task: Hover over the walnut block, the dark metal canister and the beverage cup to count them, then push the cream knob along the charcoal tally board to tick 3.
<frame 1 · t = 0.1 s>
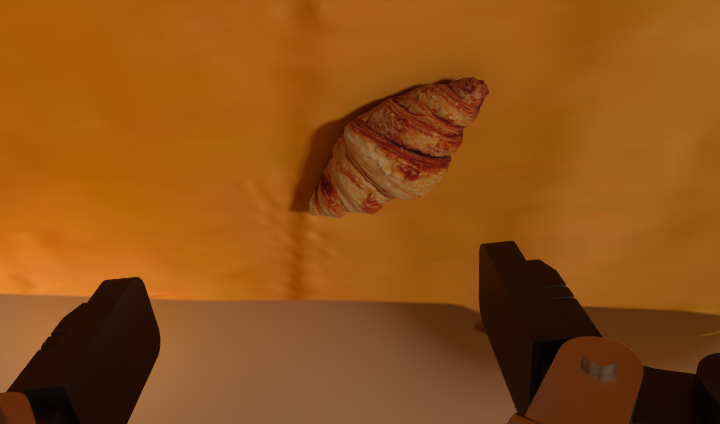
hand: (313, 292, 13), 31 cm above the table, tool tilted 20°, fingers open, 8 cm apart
croissant: (384, 137, 50), on the table
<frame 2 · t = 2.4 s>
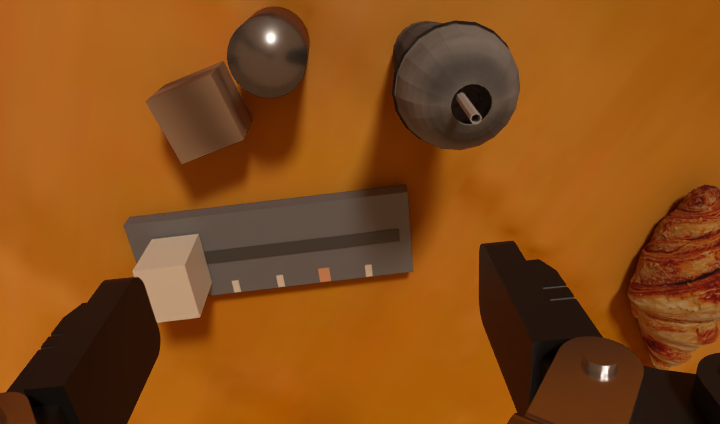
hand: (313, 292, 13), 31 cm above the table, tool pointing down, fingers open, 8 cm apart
beverage cup: (421, 51, 41), on the table
tally board: (275, 240, 47), on the table
metal canister: (276, 41, 40), on the table
walnut block: (209, 102, 42), on the table
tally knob: (175, 277, 44), point 4 cm above the table, slide at 0.0 cm
croissant: (665, 273, 52), on the table
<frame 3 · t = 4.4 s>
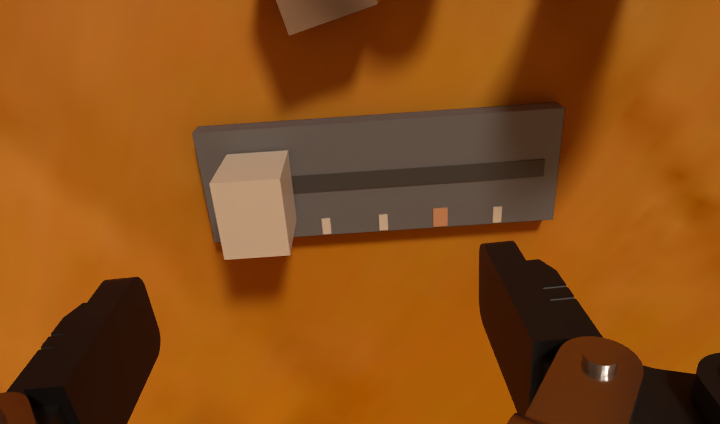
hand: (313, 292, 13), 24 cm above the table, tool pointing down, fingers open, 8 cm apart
tally board: (379, 170, 37), on the table
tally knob: (257, 203, 33), point 4 cm above the table, slide at 0.0 cm
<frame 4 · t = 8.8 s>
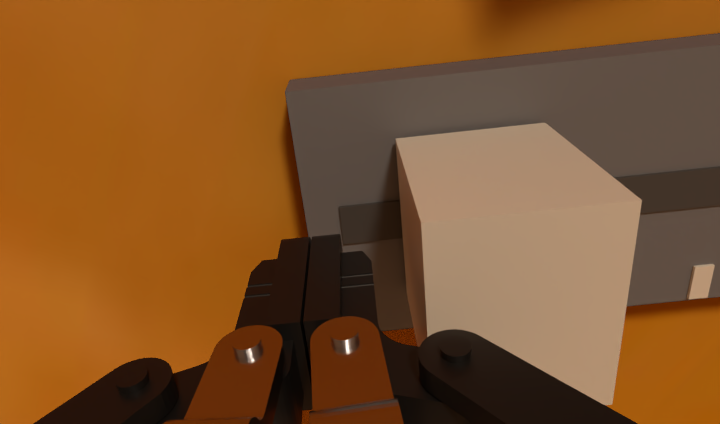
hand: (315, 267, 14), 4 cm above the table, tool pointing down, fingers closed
tally board: (689, 166, 17), on the table
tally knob: (493, 259, 13), point 4 cm above the table, slide at 0.8 cm, touching gripper
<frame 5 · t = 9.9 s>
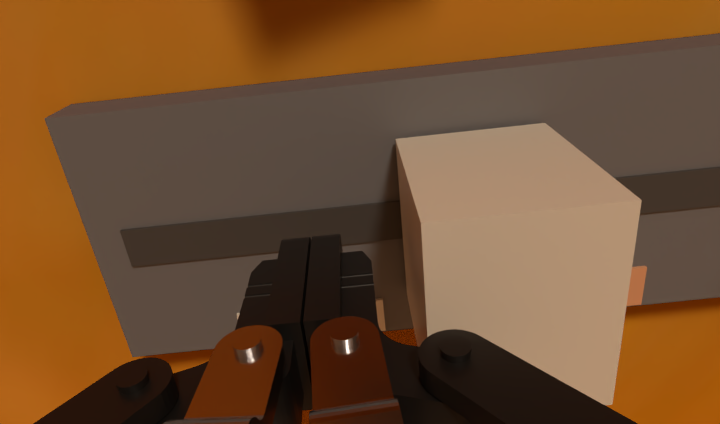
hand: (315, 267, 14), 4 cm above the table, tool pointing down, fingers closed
tally board: (488, 188, 17), on the table
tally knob: (493, 259, 13), point 4 cm above the table, slide at 7.1 cm, touching gripper
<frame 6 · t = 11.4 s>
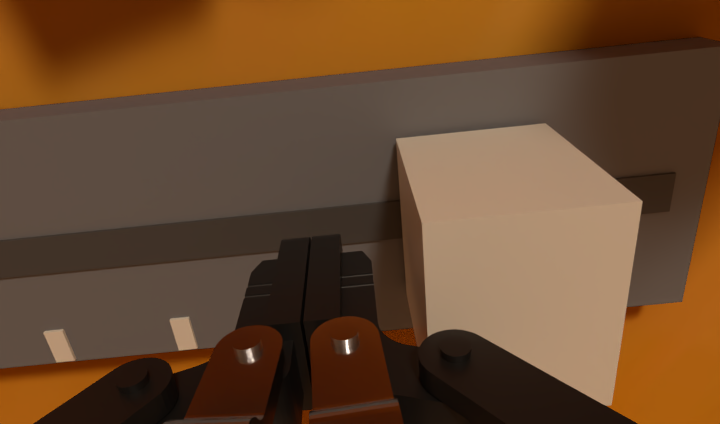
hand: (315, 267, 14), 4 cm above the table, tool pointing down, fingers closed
tally board: (297, 207, 17), on the table
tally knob: (493, 259, 13), point 4 cm above the table, slide at 13.2 cm, touching gripper
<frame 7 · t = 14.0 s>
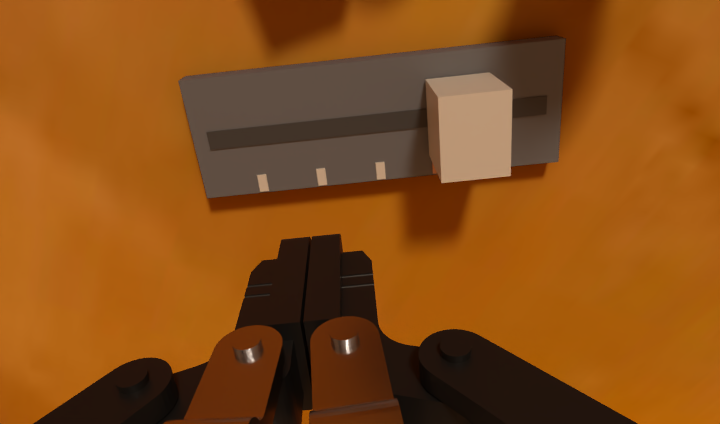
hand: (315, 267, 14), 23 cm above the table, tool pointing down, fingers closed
tally board: (375, 116, 36), on the table
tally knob: (466, 125, 32), point 4 cm above the table, slide at 13.3 cm
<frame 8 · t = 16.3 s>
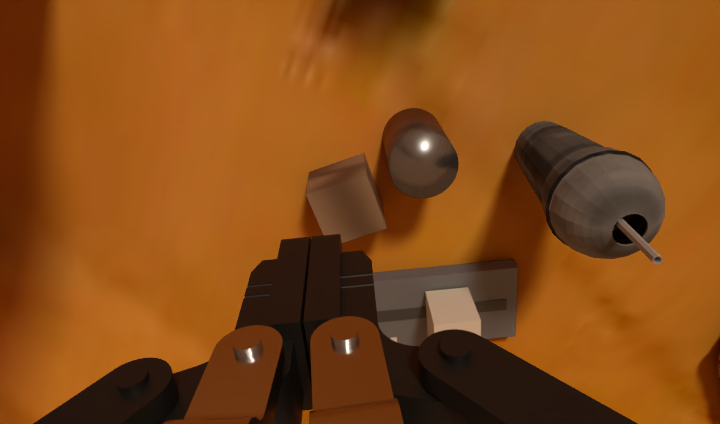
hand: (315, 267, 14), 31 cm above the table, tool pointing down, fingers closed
beverage cup: (540, 146, 45), on the table
tally board: (390, 305, 52), on the table
metal canister: (412, 137, 45), on the table
walnut block: (346, 187, 46), on the table
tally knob: (452, 327, 48), point 4 cm above the table, slide at 13.3 cm
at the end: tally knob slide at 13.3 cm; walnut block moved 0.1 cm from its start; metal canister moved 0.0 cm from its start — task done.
